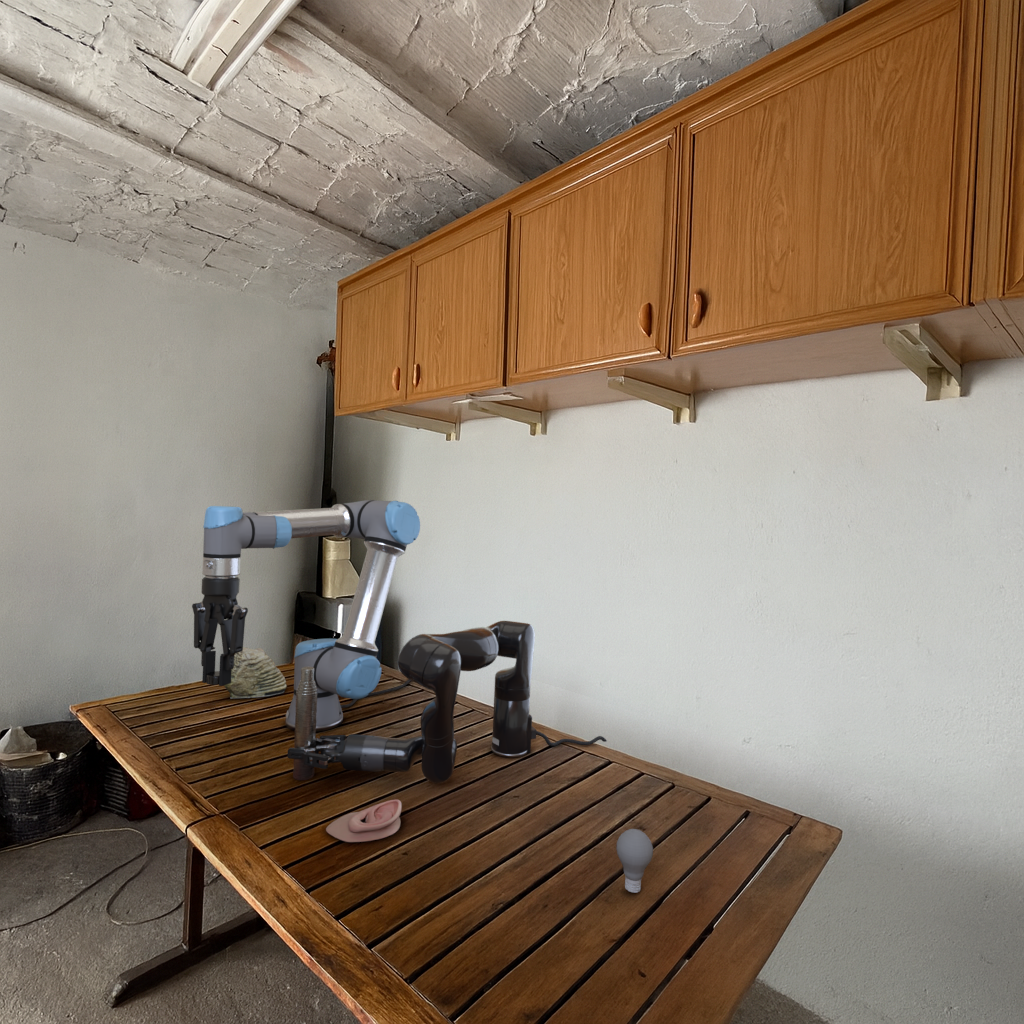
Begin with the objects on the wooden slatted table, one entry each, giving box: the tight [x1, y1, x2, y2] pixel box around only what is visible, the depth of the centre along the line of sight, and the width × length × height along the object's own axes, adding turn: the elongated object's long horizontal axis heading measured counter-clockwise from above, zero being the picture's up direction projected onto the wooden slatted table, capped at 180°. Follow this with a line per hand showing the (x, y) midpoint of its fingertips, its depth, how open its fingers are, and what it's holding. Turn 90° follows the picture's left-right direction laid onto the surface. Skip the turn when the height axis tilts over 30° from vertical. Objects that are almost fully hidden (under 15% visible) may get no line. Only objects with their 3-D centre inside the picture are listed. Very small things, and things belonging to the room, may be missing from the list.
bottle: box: [292, 667, 317, 781], centre depth 143 cm, size 4×4×24 cm
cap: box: [205, 670, 220, 686], centre depth 139 cm, size 4×4×2 cm
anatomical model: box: [325, 799, 403, 843], centre depth 122 cm, size 13×4×12 cm
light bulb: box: [615, 828, 654, 894], centre depth 106 cm, size 6×6×10 cm
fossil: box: [223, 646, 288, 699], centre depth 198 cm, size 9×18×15 cm, turn 132°
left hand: (216, 682), depth 139 cm, fingers closed on cap, 4 cm apart
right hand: (293, 748), depth 143 cm, fingers closed on bottle, 4 cm apart
